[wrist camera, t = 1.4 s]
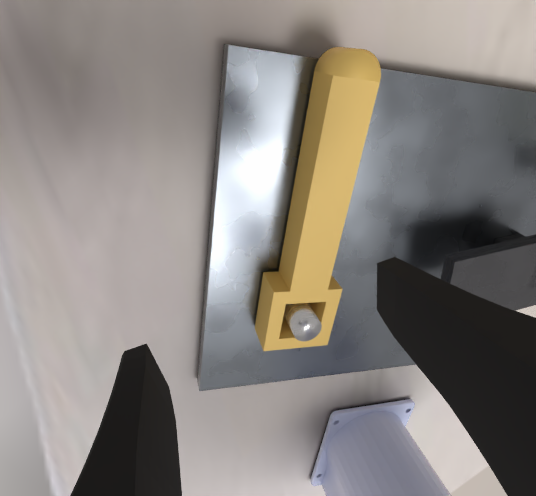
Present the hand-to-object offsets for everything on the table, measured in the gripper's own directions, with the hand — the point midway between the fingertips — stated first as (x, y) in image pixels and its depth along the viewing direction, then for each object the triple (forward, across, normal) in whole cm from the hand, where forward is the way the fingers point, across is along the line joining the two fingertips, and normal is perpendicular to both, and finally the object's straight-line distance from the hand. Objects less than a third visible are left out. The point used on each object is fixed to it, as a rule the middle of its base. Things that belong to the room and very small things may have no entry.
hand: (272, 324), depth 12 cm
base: (+10, -10, +7) cm, 16 cm away
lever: (+9, -5, +2) cm, 10 cm away
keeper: (+9, -15, +9) cm, 20 cm away
